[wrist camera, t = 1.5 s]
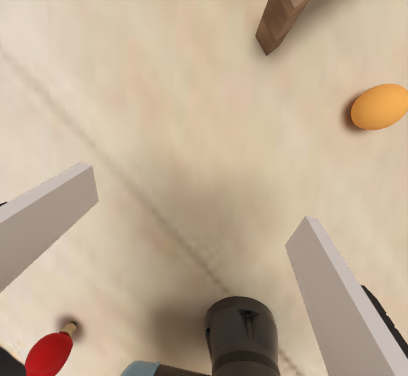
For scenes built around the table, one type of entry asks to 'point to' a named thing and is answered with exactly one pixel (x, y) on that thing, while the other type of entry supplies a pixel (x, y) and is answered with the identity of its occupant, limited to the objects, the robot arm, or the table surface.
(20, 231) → the robot arm
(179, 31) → the table surface
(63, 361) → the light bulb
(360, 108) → the ball
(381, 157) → the table surface
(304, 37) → the table surface
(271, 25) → the bridge
